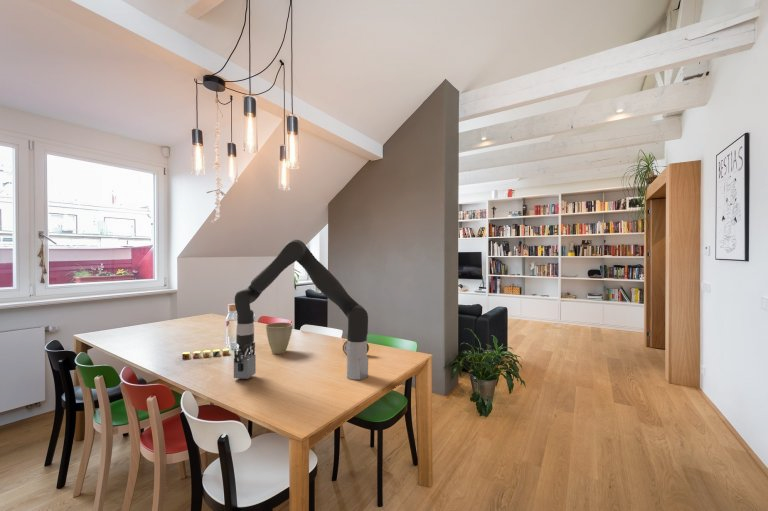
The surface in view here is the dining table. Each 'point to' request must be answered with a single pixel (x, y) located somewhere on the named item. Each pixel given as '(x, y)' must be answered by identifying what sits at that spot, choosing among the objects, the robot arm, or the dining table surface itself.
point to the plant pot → (278, 336)
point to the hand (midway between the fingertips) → (244, 368)
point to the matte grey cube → (246, 367)
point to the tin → (346, 347)
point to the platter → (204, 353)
